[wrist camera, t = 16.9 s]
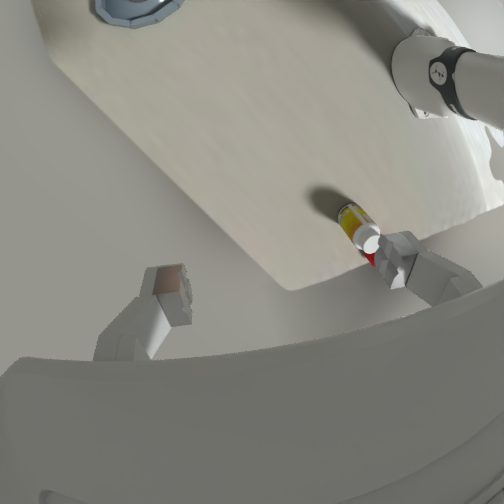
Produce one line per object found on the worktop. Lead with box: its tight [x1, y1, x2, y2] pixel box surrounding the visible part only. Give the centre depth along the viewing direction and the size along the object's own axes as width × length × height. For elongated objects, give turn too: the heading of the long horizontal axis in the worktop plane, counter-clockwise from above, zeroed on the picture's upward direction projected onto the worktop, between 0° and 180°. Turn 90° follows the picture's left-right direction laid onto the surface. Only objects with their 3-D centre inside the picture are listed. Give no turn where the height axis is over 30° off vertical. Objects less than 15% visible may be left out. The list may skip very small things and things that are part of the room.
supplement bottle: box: [338, 204, 380, 254], centre depth 47 cm, size 6×6×10 cm
